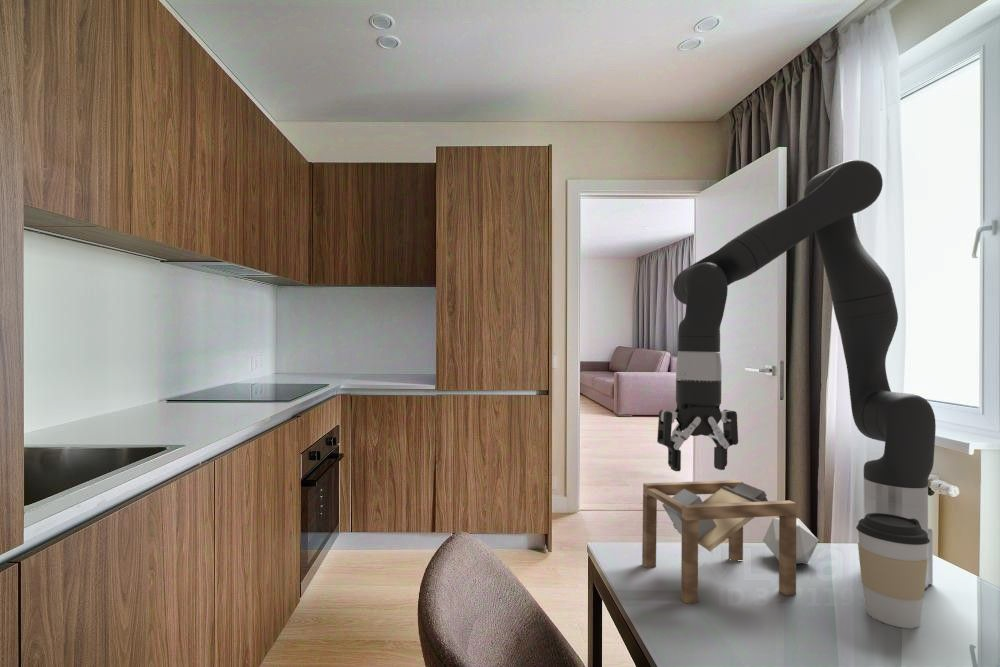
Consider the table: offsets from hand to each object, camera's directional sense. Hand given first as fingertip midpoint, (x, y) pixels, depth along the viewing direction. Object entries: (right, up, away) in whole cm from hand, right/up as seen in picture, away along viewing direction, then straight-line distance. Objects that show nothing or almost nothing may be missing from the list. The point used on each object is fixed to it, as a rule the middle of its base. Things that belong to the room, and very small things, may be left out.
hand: (697, 469), depth 91 cm
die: (+21, -20, +9) cm, 30 cm away
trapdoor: (+6, -10, +1) cm, 11 cm away
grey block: (0, -10, 0) cm, 10 cm away
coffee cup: (+25, -20, -12) cm, 34 cm away
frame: (+3, -19, 0) cm, 19 cm away
